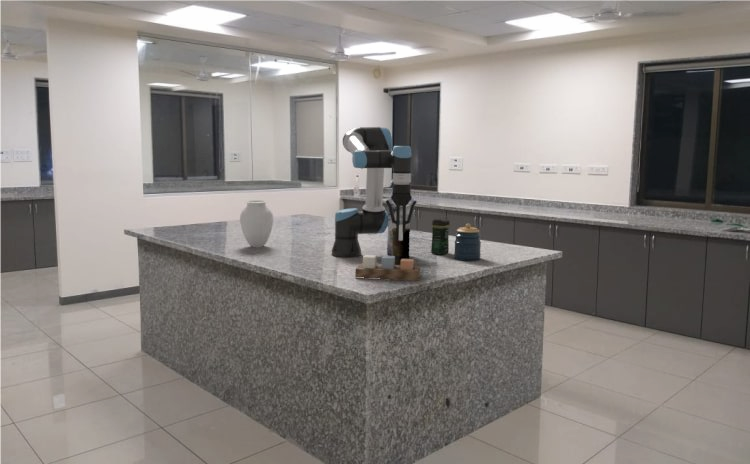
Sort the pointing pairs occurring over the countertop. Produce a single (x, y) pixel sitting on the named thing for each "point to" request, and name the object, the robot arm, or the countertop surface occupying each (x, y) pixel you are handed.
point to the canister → (467, 244)
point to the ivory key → (369, 261)
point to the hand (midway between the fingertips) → (400, 239)
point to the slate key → (388, 262)
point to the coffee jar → (440, 236)
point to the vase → (256, 223)
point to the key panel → (388, 273)
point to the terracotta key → (407, 264)
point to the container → (400, 246)
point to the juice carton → (393, 225)
